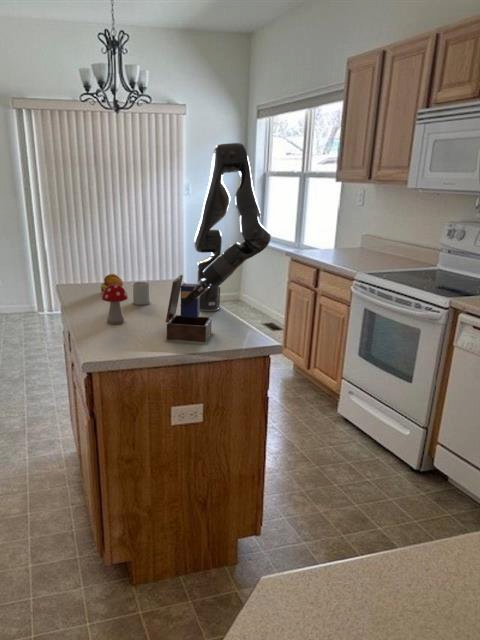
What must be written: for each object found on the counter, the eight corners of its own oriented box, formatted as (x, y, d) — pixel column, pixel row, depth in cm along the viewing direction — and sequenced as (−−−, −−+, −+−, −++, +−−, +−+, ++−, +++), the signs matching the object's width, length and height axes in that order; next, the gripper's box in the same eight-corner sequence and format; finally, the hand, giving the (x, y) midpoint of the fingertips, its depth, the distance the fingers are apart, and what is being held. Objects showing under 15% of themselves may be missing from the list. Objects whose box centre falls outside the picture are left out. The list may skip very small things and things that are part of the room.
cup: (135, 305, 234) (134, 285, 231) (130, 300, 243) (130, 280, 240) (151, 304, 236) (150, 284, 233) (146, 299, 245) (146, 280, 242)
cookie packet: (199, 314, 190) (200, 284, 186) (197, 318, 186) (198, 286, 182) (183, 313, 191) (183, 283, 187) (180, 317, 187) (180, 285, 183)
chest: (211, 334, 196) (211, 317, 194) (205, 344, 185) (205, 326, 182) (174, 331, 199) (174, 314, 196) (166, 341, 187) (166, 323, 184)
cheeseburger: (110, 289, 264) (113, 270, 259) (125, 297, 260) (129, 278, 255) (95, 292, 256) (98, 272, 252) (111, 300, 252) (114, 280, 247)
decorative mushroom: (106, 326, 203) (104, 287, 197) (100, 320, 210) (98, 283, 205) (131, 324, 207) (130, 285, 201) (124, 318, 214) (123, 281, 208)
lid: (183, 275, 190) (180, 274, 190) (175, 281, 178) (172, 281, 178) (175, 313, 196) (173, 313, 196) (167, 322, 184) (165, 322, 184)
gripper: (215, 258, 187) (181, 290, 193) (209, 265, 174) (173, 299, 180) (230, 274, 188) (195, 305, 194) (224, 282, 175) (188, 315, 181)
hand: (185, 302), depth 187 cm, fingers closed on cookie packet, 4 cm apart
